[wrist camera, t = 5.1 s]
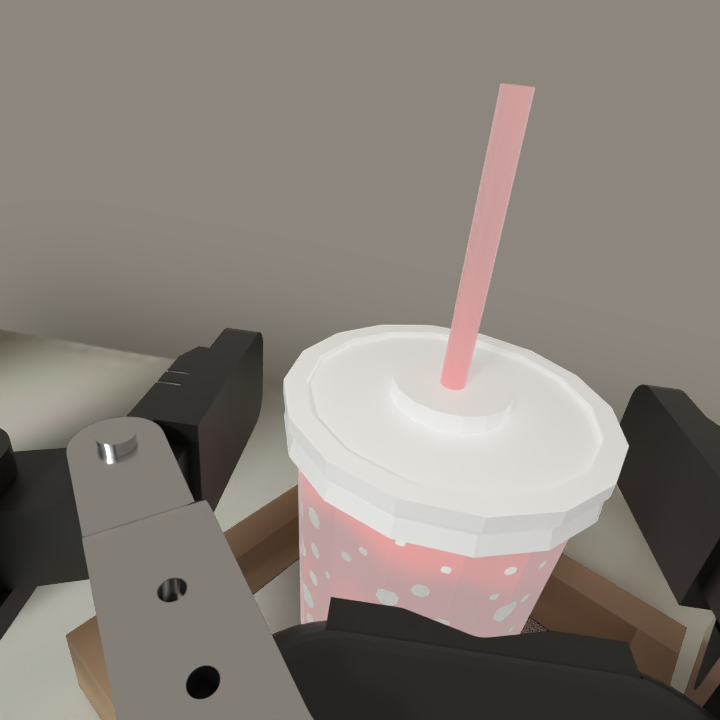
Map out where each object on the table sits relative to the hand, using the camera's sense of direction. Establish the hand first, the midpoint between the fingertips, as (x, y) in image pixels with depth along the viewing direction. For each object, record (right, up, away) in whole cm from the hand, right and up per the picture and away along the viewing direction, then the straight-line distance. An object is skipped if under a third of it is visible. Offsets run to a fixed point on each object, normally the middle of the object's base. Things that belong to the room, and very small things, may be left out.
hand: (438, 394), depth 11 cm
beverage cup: (-1, -8, +3) cm, 8 cm away
